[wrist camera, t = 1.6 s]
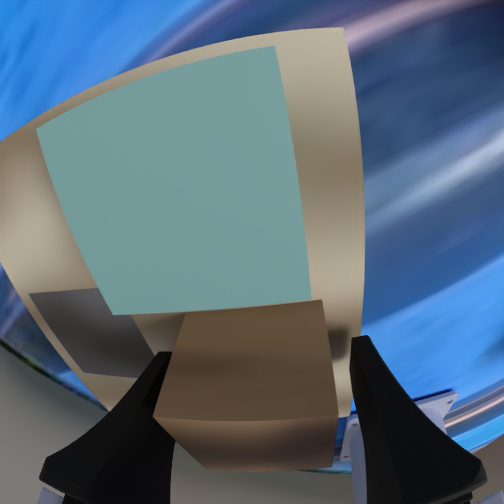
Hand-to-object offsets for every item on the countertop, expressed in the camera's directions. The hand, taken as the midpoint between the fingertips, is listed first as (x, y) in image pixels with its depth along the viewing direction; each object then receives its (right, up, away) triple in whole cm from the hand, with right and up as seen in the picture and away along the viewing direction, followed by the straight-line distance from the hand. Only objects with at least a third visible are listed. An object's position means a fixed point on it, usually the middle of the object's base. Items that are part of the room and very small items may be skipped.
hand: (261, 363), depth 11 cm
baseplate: (-4, +2, +1) cm, 5 cm away
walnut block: (0, 0, +1) cm, 1 cm away
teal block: (-1, +7, -3) cm, 8 cm away
